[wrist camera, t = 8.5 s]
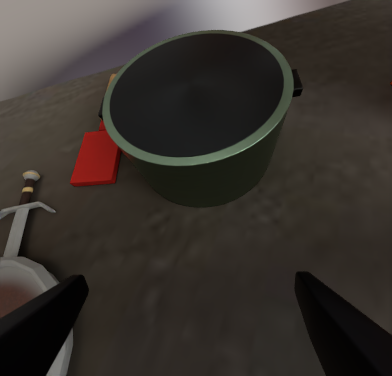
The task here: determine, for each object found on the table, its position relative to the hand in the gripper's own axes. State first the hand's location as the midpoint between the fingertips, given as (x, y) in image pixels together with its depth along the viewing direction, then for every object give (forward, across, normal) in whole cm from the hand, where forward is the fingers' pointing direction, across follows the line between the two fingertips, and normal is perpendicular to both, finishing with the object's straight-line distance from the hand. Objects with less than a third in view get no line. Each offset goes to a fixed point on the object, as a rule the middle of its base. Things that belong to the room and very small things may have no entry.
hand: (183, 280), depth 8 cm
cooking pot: (+18, 0, -3) cm, 18 cm away
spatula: (+22, +14, -7) cm, 27 cm away
